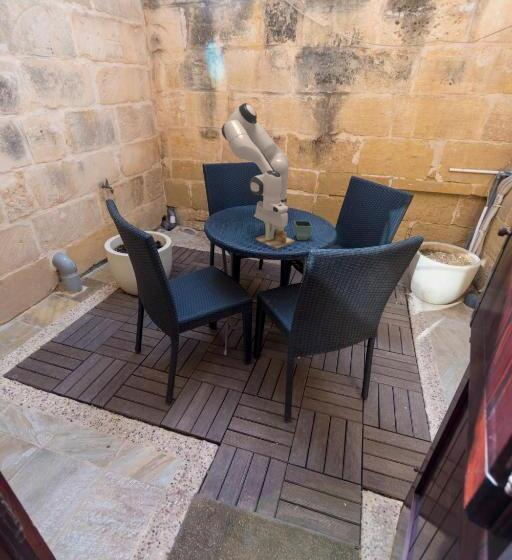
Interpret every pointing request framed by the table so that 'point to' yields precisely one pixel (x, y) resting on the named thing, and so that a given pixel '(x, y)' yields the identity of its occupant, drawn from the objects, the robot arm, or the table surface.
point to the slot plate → (268, 233)
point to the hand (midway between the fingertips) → (270, 230)
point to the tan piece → (276, 239)
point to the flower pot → (302, 229)
